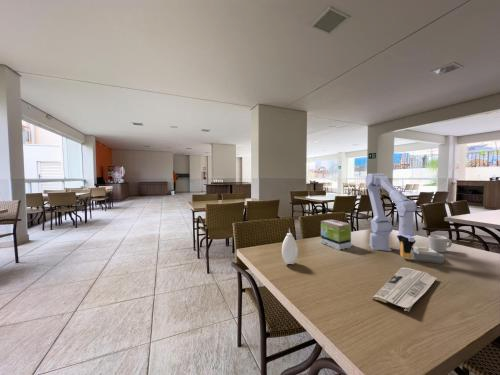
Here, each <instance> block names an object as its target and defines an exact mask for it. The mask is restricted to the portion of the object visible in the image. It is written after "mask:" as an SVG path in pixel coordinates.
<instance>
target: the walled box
mask: <svg viewBox="0 0 500 375" xmlns="http://www.w3.org/2000/svg"><path fill="white" fill-rule="evenodd" d="M411 259H413V260H414V261H415V262H421V263H434V264H445V256H444V255H443V254H441V253H439V252H437V251H435V250H434V249H431V248H430V247H426V246H425V247H424V246H422V247H421V246H412V249H411Z"/></svg>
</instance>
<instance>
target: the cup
mask: <svg viewBox="0 0 500 375" xmlns="http://www.w3.org/2000/svg"><path fill="white" fill-rule="evenodd" d="M427 238H428V244H429V245H428V246H429V248H431V249H434V250H435V251H437V252H438V253H440V254H441V253H442V254H443V253H446V251H447V248H450V247H452V246H453V241H452V240H451V238H448V237H446V236H444V235H437V234H430V235H428V237H427Z"/></svg>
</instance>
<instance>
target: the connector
mask: <svg viewBox="0 0 500 375" xmlns="http://www.w3.org/2000/svg"><path fill="white" fill-rule="evenodd" d="M399 246H400V248H399V249H400V250H399V255H400V256H401V257H402V258H406V259H412V257H411V252H410V253H405V252H404V247H403V243H402V241H400V242H399Z"/></svg>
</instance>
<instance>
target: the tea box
mask: <svg viewBox="0 0 500 375" xmlns="http://www.w3.org/2000/svg"><path fill="white" fill-rule="evenodd" d="M320 243H321V244H323V245H325V244H326V246H328V247H330V246H331V247H330V248H333V249H336V250H337V249H338V251H342V250H341V249H343V250H346V249H345V248H347V249H350V248H351V247H352V224H351V223H348V222H344V221H342V220H341V221H339V220H336V219H332V218H331V219H326V220H320Z"/></svg>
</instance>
